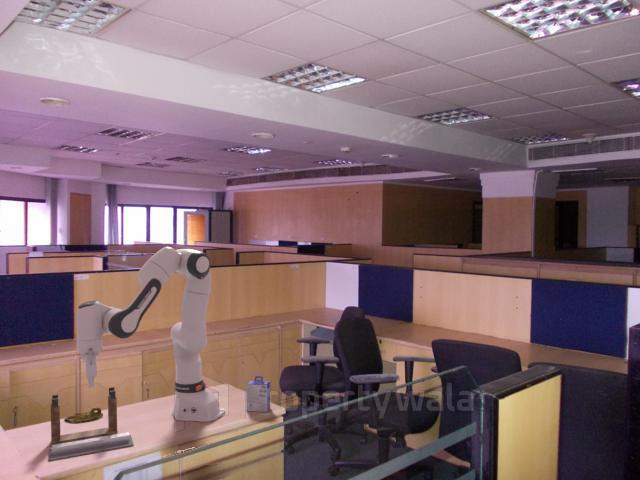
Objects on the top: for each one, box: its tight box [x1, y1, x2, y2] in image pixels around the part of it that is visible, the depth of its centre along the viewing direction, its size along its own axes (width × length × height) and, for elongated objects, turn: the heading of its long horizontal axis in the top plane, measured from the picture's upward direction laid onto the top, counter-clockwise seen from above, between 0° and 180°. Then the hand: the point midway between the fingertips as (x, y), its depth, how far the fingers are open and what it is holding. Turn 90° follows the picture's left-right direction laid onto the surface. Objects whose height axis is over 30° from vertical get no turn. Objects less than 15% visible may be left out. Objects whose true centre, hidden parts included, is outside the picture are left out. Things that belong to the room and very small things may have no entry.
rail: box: [51, 431, 131, 455], centre depth 191 cm, size 26×3×2 cm, turn 116°
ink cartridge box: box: [245, 375, 271, 413], centre depth 229 cm, size 10×6×14 cm, turn 81°
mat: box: [48, 434, 134, 462], centre depth 191 cm, size 28×10×1 cm, turn 116°
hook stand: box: [50, 386, 119, 448], centre depth 200 cm, size 23×6×18 cm, turn 116°
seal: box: [63, 407, 104, 424], centre depth 220 cm, size 9×5×15 cm
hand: (90, 383), depth 190 cm, fingers open, 8 cm apart
